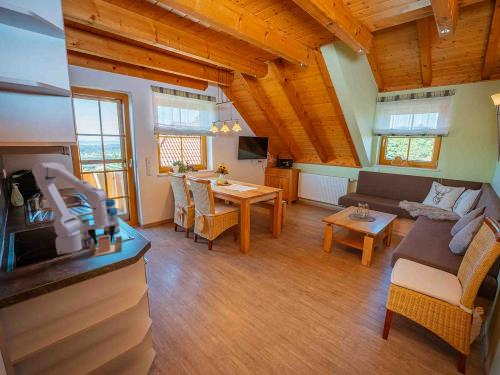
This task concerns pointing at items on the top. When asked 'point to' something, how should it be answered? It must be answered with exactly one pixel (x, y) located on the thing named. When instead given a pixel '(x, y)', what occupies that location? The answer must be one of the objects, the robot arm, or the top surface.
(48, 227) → the top surface
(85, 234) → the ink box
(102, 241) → the terracotta block
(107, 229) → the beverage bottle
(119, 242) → the walnut pocket board
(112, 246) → the cream square
